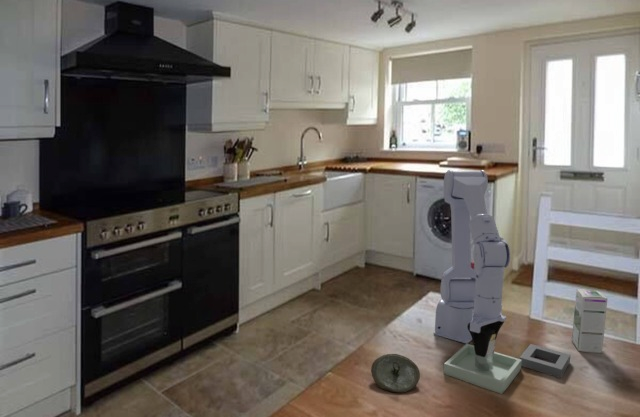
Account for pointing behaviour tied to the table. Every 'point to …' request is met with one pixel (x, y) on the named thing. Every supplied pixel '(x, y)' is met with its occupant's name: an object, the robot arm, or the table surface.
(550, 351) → the holder
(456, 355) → the tray
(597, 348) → the syrup box
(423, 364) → the table surface
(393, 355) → the lid
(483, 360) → the pin
